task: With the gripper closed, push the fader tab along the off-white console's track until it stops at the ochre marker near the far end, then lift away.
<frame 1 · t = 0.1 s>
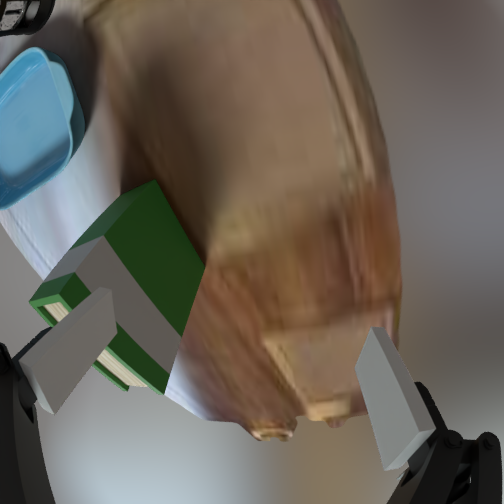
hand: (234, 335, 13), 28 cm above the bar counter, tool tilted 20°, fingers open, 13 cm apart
casserole dish: (30, 127, 34), on the bar counter
french press: (37, 8, 19), on the bar counter
hardback book: (163, 231, 45), on the bar counter
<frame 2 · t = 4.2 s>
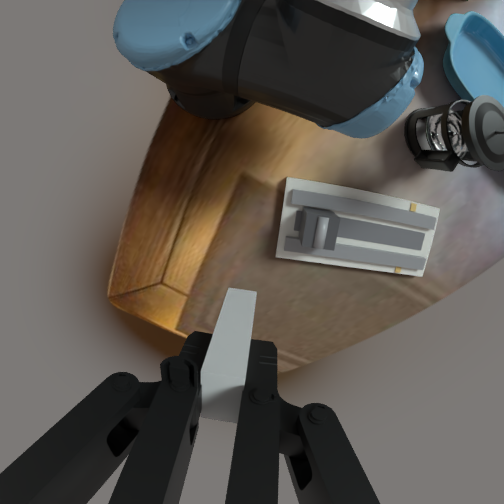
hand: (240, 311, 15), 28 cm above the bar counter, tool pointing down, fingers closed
casserole dish: (495, 98, 31), on the bar counter
fader tab: (318, 228, 37), point 5 cm above the bar counter, slide at -8.0 cm
french press: (425, 138, 36), on the bar counter
console: (362, 228, 41), on the bar counter
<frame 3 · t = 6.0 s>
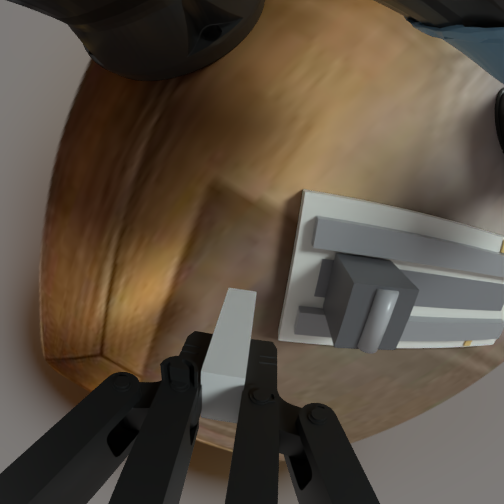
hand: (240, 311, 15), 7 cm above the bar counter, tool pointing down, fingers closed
fader tab: (367, 302, 17), point 5 cm above the bar counter, slide at -8.0 cm
console: (429, 284, 21), on the bar counter
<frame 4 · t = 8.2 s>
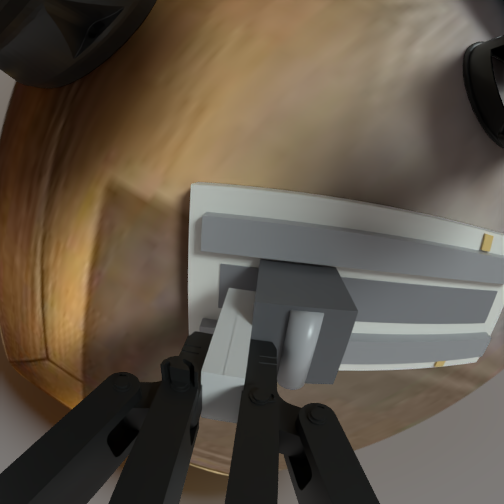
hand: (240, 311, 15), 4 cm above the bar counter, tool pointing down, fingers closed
fader tab: (295, 323, 14), point 5 cm above the bar counter, slide at -6.5 cm, touching gripper
french press: (498, 98, 12), on the bar counter
console: (381, 292, 18), on the bar counter
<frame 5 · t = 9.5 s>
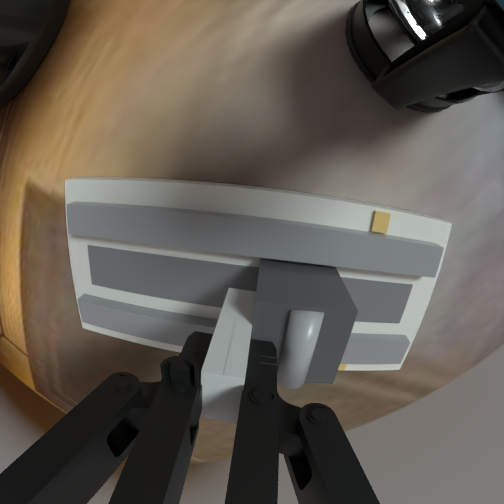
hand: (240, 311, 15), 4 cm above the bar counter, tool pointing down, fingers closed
fader tab: (295, 322, 14), point 5 cm above the bar counter, slide at 3.0 cm, touching gripper
french press: (405, 54, 13), on the bar counter
console: (245, 278, 18), on the bar counter
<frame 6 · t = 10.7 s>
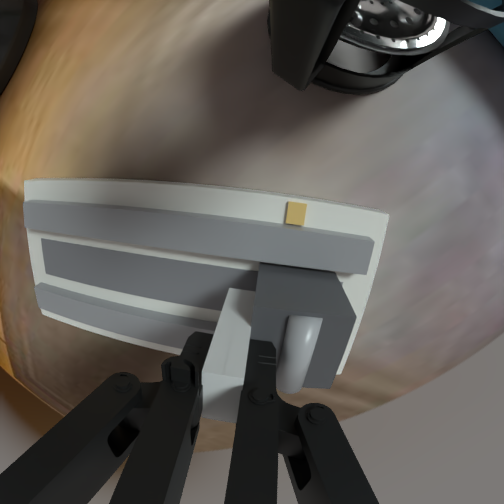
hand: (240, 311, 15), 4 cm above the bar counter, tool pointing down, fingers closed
casserole dish: (500, 0, 8), on the bar counter
fader tab: (294, 327, 14), point 5 cm above the bar counter, slide at 8.1 cm, touching gripper
french press: (337, 36, 13), on the bar counter
console: (171, 270, 19), on the bar counter
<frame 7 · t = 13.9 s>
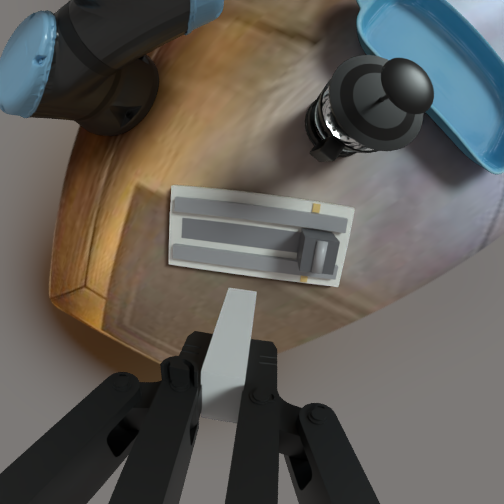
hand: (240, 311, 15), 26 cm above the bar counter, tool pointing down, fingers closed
casserole dish: (440, 76, 30), on the bar counter
fader tab: (317, 251, 36), point 5 cm above the bar counter, slide at 8.0 cm
french press: (335, 127, 35), on the bar counter
console: (258, 234, 41), on the bar counter
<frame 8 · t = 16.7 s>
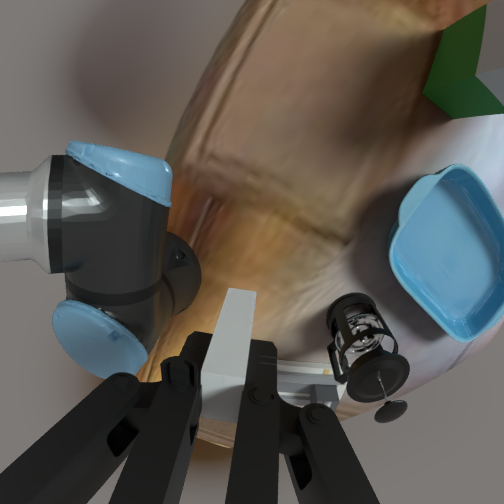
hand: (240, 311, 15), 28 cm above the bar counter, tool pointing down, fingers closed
casserole dish: (451, 253, 42), on the bar counter
fader tab: (324, 400, 48), point 5 cm above the bar counter, slide at 8.0 cm
french press: (349, 317, 47), on the bar counter
hardback book: (449, 71, 31), on the bar counter
console: (283, 381, 52), on the bar counter
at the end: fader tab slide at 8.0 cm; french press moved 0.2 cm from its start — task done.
